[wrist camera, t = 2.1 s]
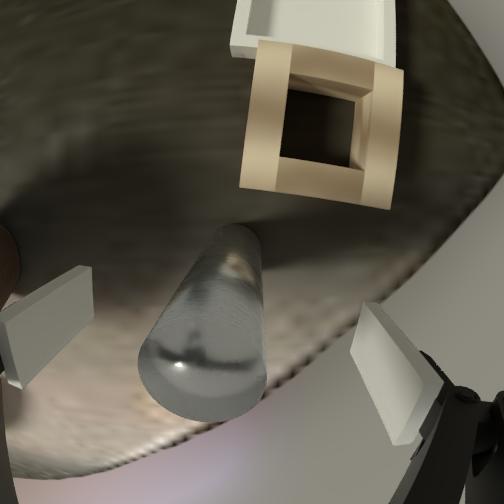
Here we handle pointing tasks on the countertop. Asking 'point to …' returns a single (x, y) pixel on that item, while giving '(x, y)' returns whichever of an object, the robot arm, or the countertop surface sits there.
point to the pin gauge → (211, 334)
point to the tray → (318, 26)
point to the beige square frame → (335, 85)
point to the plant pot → (8, 265)
